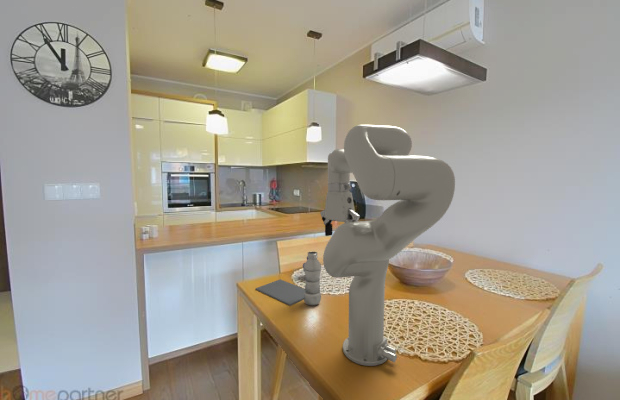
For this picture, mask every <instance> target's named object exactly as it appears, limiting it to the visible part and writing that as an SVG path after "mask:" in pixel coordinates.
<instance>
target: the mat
mask: <svg viewBox="0 0 620 400" xmlns="http://www.w3.org/2000/svg"><path fill="white" fill-rule="evenodd" d="M255 291H258V292H260V293H262V294H264V295H266V296H269V297H270V298H273V299H274V300H276V301H279V302H281V303H282V304H285V305H287V306H289V307H291V306H294V305H295V304H297V303H299V302H301V301H304V292H305V287H304V288H303V287H301V286H299V285H295V284H293V283H290V282H289V281H285V280H283V279H281V278H280V279H278V280H274V281H272V282H269V283H266V284H264V285H261V286H259V287H255Z"/></svg>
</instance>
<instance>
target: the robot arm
mask: <svg viewBox="0 0 620 400" xmlns="http://www.w3.org/2000/svg"><path fill="white" fill-rule="evenodd" d="M412 144H413V143H412V138H411V136H410V134H409V133H408V132H407V131H406V130H404V129H403V128H401V127H400V126H399V127H398V126H395V125H393V126H392V125H378V124H377V125H375V124H358V125H354V127H352V128H351V129H350V130H348V132H347V134H346V136H345V139H344V143H343V148H338V149H334V150H333V151H332V152H331V153H329V154H328V155H327V193H326V195H325V197H326V198H325V208H324V209H323V210H321V211H320V212H319V214H320V217H321V220H322V222H323V225H324V236H325V237H329V236H331V237H330V239H329V240H328V242H327V243H326V246H325V247H324V251H323V256H322V257H323V259H322V261H323V262H322V263H323V267H324V269H325V272H326V273H327V274H328V275H329V276H331V277H332V278H337V279H338V278H339V279H340V278H341V279H342V278H352V277H353V279H351V282H350V285H349V289H348V337H346V338H345V340H343V342H342V352H343V353H344V355H345V357H346V358H348V359H349V360H350V361H352V362H353V363H355V364H358V365H360V366H361V365H362V366H366V367H368V366H369V367H374V366H380V365H381V364H382V365H383V363H385V362H386V361H387V360H389V361H391V362H392V363H396V361H397V358H398V355H397V348H395V347H392V346H390V345H389V344H388V337H386V336H384V333H385V331H384V330H385V326H384V325H385V289H386V279H387V272H388V268H389V263H390V260H391V259H392V258H394V257H395V256H397V255H398V254H399V253H400V252H402V251H403V250H404V249H405V248H407V247H408V246H409V245H410V244H411V243H413V242H414V240H416V239H417V238H419V237H420V236H421V235H422V234H423V233H425V232H427V231H428V230H429V229H430V228H432V227H433V226H434V225H435V224H437V223H438V222H439V221H440V220H441V219H443V217H444V215H445V214H446V213H447V211H448V210H449V208H450V206H451V203H452V201H453V198H454V195H455V190H456V177H455V174H454V171H453V169H452V167H451V166H450V164H448V163H447V162H445V161H444V160H441V159H439V158H436V157H432V156H426V155H410V153H411V150H412V148H413V147H412V146H413V145H412ZM350 174H352V175H353V176H354V179H355V181H356V182H357V185H358V187H359V190H360V191H361V192H362V194H363V195H364V196H366V197H367V198H368V199H370V200H374V201H396V202H394V203H393V204H391V205H389V206H388V207H387V208H386V209H385V210H384V211H383V212H382V213H381V215H380V216H379V217H378V218H377V219H372V220H361V221H359V220H360V218H361V216H360V214H358V213H357V212H356V211H355V206H354V198H353V193H352V192H351V191H350V190H351V189H352V188H353V187H352V185H351V182H350V181H351V179H350V176H351V175H350ZM333 222H340V223H342V222H343V223H342V224H339V225H338V227H336V229H335V230H334V231H333V224H332V223H333Z"/></svg>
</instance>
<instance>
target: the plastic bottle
mask: <svg viewBox="0 0 620 400" xmlns="http://www.w3.org/2000/svg"><path fill="white" fill-rule="evenodd" d="M307 258H308V260H307ZM318 258H319V256H318V252H317V251H308V252H307V256H306V261H305V262H304V263H305V265H304V270H303V272H304V271H305V272H304V279H305V282H304V284H305V286H304V289H305V292H304V300H303V302H304V303H305V304H306V305H307V306H316V305H319V304H320V303H321V302H322V301H321V300H322V294H321V286H320V279H321V270H322V264H321V262H320V261H319V259H318Z"/></svg>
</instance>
